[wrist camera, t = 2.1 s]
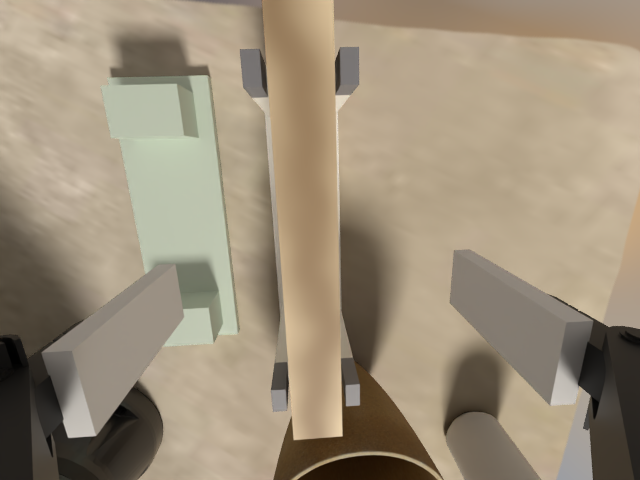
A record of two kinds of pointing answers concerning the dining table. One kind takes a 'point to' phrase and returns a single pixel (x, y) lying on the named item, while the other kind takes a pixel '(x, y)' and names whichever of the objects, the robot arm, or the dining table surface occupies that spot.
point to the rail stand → (258, 90)
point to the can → (486, 450)
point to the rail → (307, 205)
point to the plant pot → (360, 444)
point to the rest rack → (178, 193)
